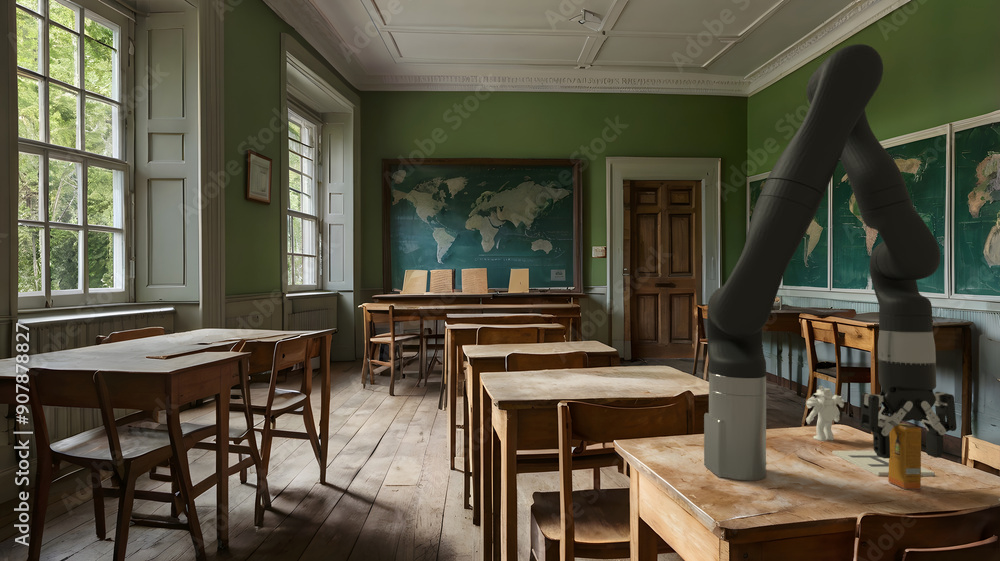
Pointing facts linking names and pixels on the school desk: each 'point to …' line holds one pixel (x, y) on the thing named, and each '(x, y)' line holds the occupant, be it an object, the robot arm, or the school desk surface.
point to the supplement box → (905, 456)
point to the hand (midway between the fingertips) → (908, 456)
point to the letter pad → (872, 462)
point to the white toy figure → (824, 412)
